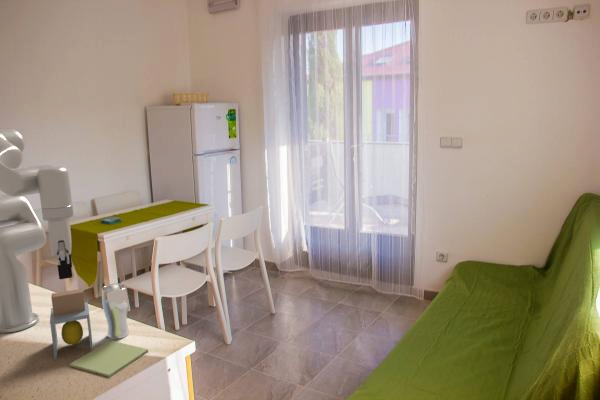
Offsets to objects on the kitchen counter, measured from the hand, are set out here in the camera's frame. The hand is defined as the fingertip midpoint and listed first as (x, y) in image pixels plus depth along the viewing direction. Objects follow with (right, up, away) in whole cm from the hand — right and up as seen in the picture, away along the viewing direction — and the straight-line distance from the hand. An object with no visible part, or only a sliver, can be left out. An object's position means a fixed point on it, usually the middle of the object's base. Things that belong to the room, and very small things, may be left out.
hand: (66, 273), depth 134 cm
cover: (0, -21, +4) cm, 22 cm away
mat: (+14, -23, -3) cm, 27 cm away
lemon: (0, -22, +4) cm, 22 cm away
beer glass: (+11, -20, +10) cm, 25 cm away
